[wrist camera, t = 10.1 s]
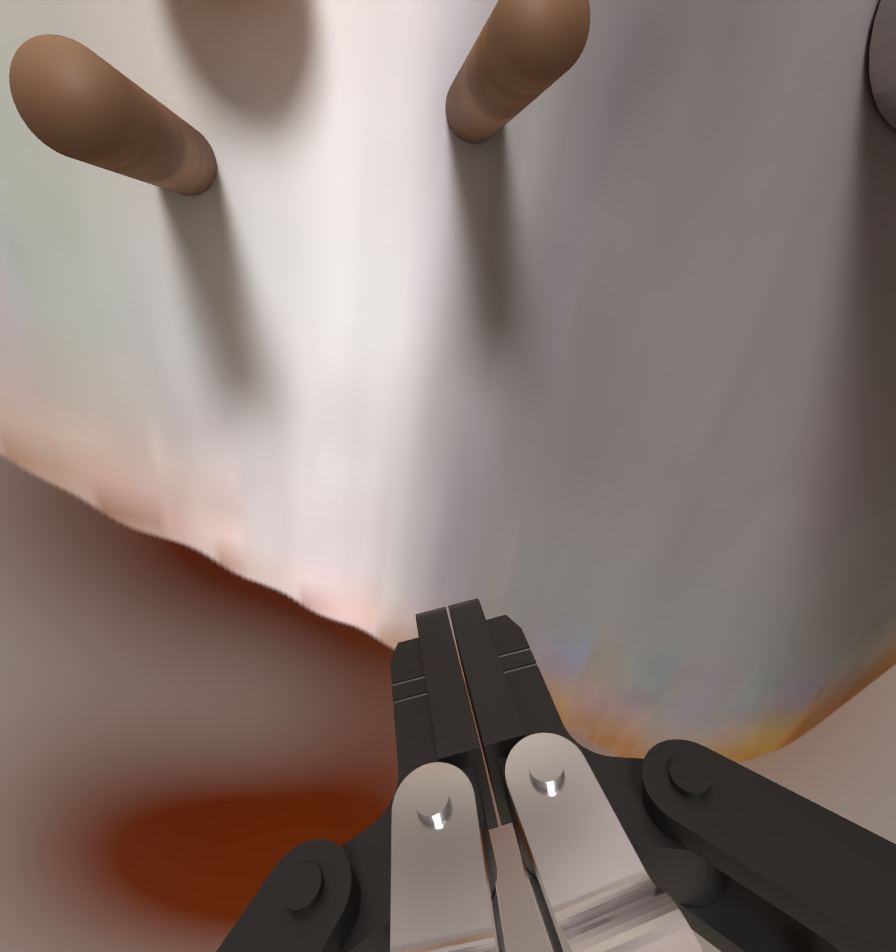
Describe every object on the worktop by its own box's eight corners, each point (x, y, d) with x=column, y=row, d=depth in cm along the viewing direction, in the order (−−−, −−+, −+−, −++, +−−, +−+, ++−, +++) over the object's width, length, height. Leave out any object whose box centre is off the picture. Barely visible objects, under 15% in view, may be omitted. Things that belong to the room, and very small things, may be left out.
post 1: (137, 128, 20) (-14, 43, 12) (202, 117, 20) (97, 26, 12) (165, 200, 21) (44, 168, 13) (225, 189, 21) (144, 150, 13)
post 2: (440, 76, 21) (493, -36, 13) (499, 66, 21) (587, -50, 13) (451, 148, 22) (505, 87, 14) (506, 138, 22) (592, 72, 14)
